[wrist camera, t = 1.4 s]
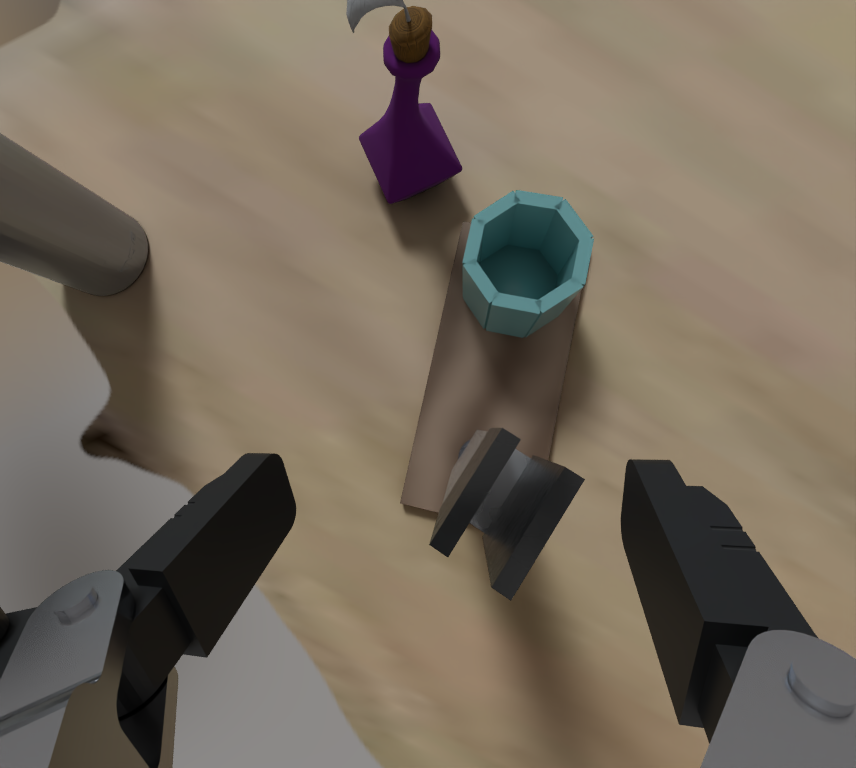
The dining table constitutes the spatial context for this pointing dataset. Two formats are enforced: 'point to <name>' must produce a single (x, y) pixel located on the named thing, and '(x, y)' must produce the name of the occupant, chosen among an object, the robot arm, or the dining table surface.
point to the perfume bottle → (407, 108)
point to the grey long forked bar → (503, 504)
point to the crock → (524, 262)
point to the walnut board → (484, 389)
